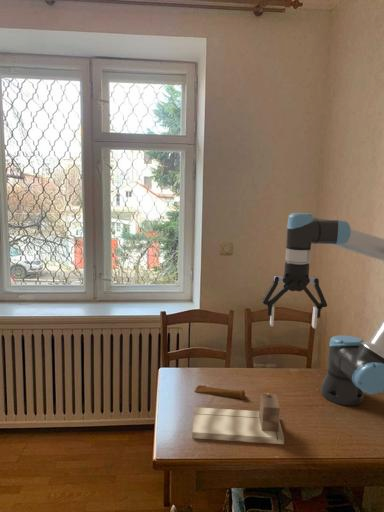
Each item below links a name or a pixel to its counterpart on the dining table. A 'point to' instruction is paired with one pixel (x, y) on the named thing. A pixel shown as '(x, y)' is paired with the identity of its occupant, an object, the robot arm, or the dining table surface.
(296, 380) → the dining table surface
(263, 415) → the beige drawer
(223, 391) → the primitive tool
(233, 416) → the board
